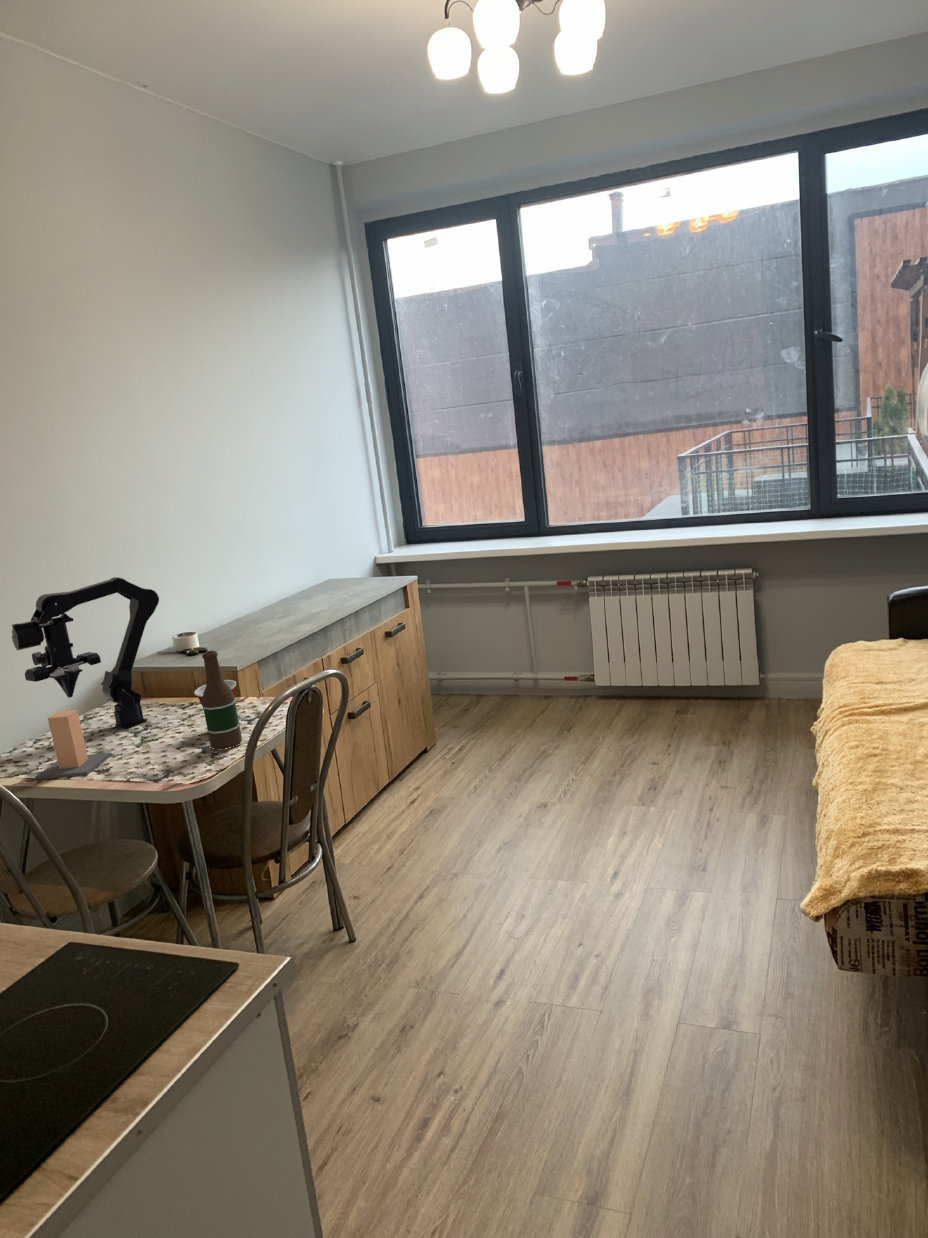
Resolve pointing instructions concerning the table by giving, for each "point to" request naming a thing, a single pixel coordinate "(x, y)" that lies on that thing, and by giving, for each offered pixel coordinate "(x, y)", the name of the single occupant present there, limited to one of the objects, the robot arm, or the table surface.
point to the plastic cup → (201, 689)
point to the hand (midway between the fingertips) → (70, 697)
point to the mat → (84, 769)
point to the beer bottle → (219, 706)
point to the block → (68, 739)
